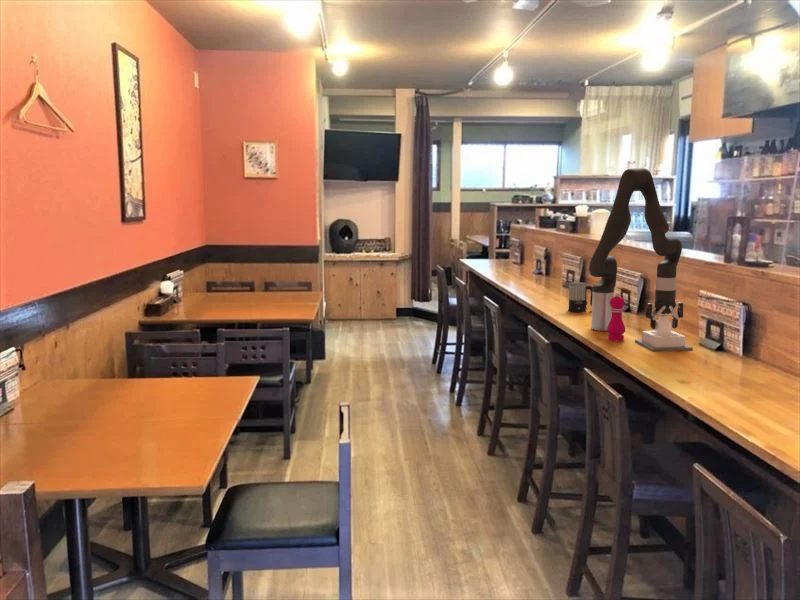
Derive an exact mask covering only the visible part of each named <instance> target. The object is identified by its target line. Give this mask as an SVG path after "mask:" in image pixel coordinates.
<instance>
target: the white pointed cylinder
mask: <svg viewBox="0 0 800 600" xmlns="http://www.w3.org/2000/svg"><path fill="white" fill-rule="evenodd" d="M671 330H672V321H671V320H670V319H669V315H668V314H660V315H659V316H658V319H657V320H656V329H654V331H655V335H657V336H671Z"/></svg>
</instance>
